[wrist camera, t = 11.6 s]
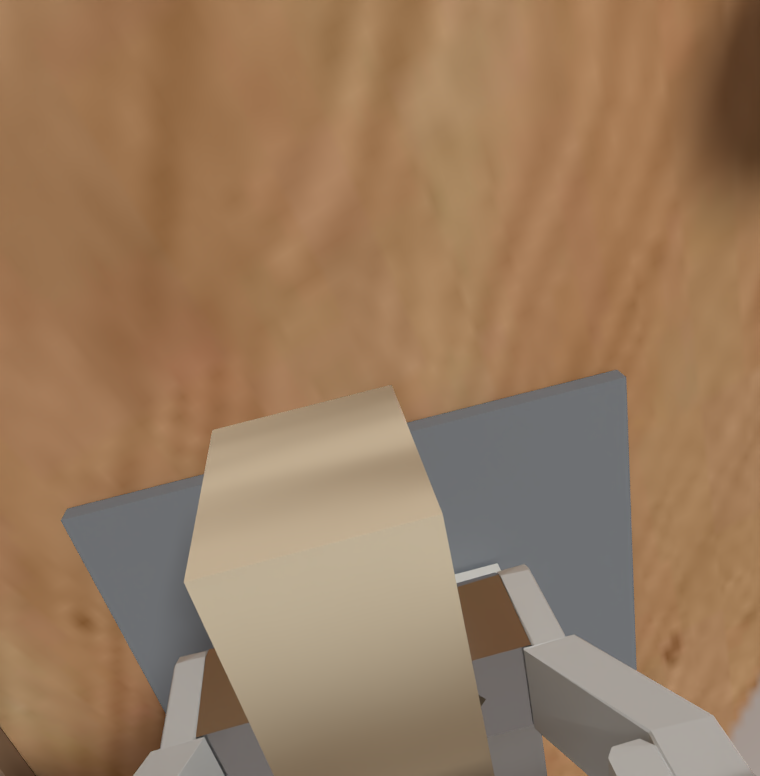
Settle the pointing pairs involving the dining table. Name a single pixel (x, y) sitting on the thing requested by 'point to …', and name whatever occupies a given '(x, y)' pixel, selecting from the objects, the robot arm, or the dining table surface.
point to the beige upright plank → (341, 598)
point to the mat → (460, 512)
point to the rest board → (11, 759)
